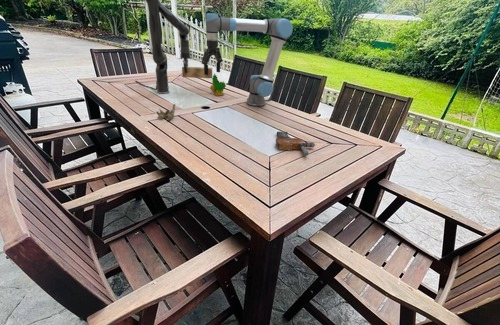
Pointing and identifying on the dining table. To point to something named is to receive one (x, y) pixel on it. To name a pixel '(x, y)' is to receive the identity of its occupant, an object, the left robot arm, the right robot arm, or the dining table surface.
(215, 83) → the ornament
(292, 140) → the tool
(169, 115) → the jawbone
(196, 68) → the bar
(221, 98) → the dining table surface
